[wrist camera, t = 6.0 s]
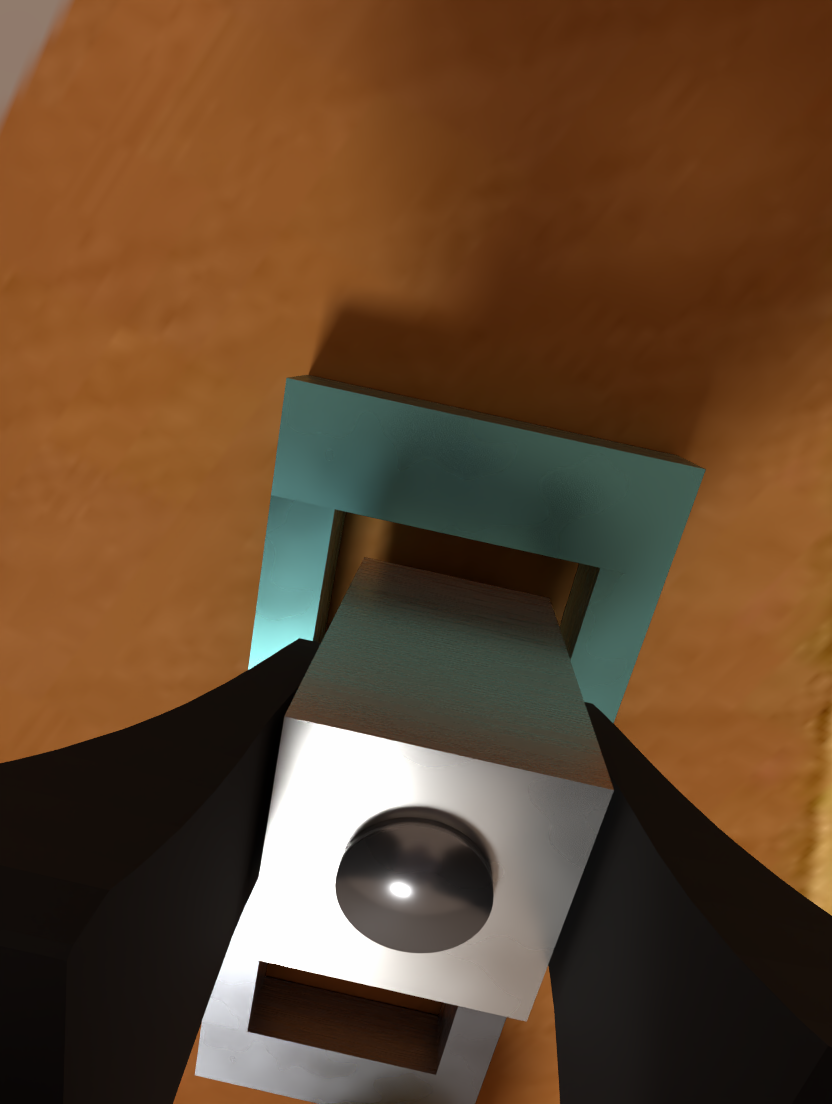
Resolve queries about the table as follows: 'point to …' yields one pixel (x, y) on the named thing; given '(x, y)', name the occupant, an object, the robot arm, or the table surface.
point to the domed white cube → (431, 795)
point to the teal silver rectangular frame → (301, 612)
